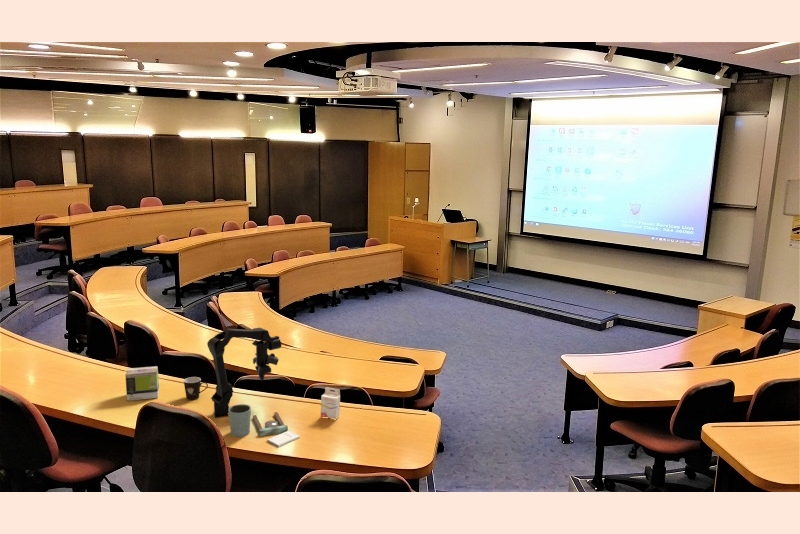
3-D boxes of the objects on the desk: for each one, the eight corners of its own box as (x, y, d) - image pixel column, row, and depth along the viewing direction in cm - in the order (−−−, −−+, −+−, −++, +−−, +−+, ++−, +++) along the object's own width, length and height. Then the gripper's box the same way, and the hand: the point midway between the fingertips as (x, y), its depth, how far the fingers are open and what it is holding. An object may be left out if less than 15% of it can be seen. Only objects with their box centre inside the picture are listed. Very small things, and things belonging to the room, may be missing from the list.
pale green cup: (239, 439, 258) (238, 414, 256) (224, 433, 263) (223, 409, 261) (255, 431, 267) (255, 407, 265) (240, 425, 272) (240, 402, 270)
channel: (259, 436, 262) (259, 431, 262) (252, 418, 280) (251, 413, 280) (287, 431, 268) (287, 426, 267) (278, 414, 285) (278, 409, 285)
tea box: (159, 391, 309) (158, 365, 306) (157, 398, 300) (156, 371, 297) (129, 393, 304) (127, 367, 302) (126, 401, 295) (125, 374, 292)
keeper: (266, 433, 266) (266, 427, 265) (263, 427, 271) (263, 421, 271) (279, 430, 269) (279, 424, 268) (276, 425, 274) (276, 419, 273)
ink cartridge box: (320, 418, 283) (320, 390, 281) (324, 414, 288) (324, 386, 286) (336, 420, 281) (336, 392, 279) (340, 416, 286) (340, 389, 283)
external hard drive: (267, 442, 258) (288, 433, 267) (278, 448, 253) (299, 438, 262) (267, 439, 258) (288, 429, 267) (278, 445, 252) (299, 435, 262)
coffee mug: (180, 399, 300) (179, 381, 298) (192, 393, 308) (191, 375, 306) (198, 403, 295) (197, 385, 294) (209, 397, 303) (208, 379, 302)
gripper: (281, 356, 290) (281, 385, 293) (273, 345, 307) (273, 372, 309) (259, 358, 285) (259, 387, 288) (252, 347, 302) (252, 375, 305)
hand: (262, 380), depth 298 cm, fingers closed
